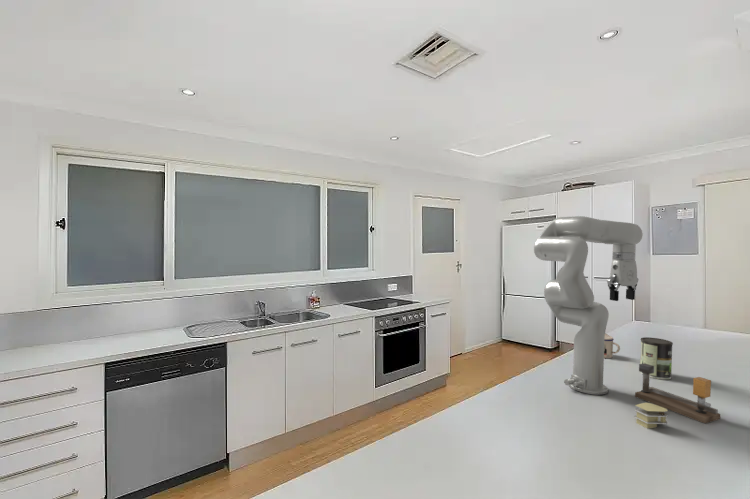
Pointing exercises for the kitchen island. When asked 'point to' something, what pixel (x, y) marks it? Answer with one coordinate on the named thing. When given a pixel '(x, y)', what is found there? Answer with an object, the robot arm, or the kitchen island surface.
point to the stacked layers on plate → (650, 415)
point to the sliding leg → (702, 391)
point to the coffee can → (657, 356)
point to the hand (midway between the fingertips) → (622, 299)
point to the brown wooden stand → (673, 400)
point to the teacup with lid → (609, 346)
